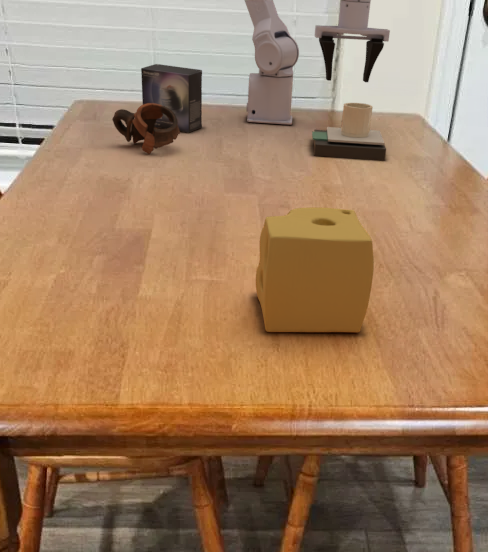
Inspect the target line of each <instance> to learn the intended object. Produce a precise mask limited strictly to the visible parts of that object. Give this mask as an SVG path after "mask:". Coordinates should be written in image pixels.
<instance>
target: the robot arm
mask: <svg viewBox="0 0 488 552" xmlns="http://www.w3.org/2000/svg"><path fill="white" fill-rule="evenodd" d="M371 1H372V0H340V3H339V4H340V5H339V15H338V25H319V24H318V25H317V24H315V27H314V37H315V38H316V39H318V42H319V46H320V48H321V52H322V56H323V57H322V58H323V63H324V68H325V80H326V81H328V82H329V81H330V82H331V81H332V77H333V59H334V55H335V47H336V43H335V39H342V40H343V39H344V40H360V41H366V43H365V44H366V45H365V61H364V68H363V73H362V82H364V83H369V82H370V78H371V73H372V71H373V69H374V66H375V63H376V62H377V59H378V58H379V56H380V54H381V52H382V51H383V49H384V47H385V43H384V42H387V43H388V42H389V39H390V33H391V30H390V29H388V28H376V27H368V26H369V18H370V10H371V9H370V8H371ZM244 3H245V6H246V8H247V12H248V14H249V17H250V20H251V22H252V26H253V33H252V38H251V40H252V43H253V46H254V47H253V48H254V61H255V64H256V66H257V68H258V72H257V73H256V72H250V73H249V75H248V89H247V90H248V91H247V93H248V94H247V95H248V96H247V102H246V113H247V116H246V117H247V118H246V122H248V123H257V124H258V123H260V124H273V125H274V124H275V125H290V126H291V125H292V124H293V115H292V101H293V100H292V99H293V86H294V85H293V83H294V69H293V67H295V65H297V63H298V60H299V57H300V49H299V48H300V47H299V45H298V43H297V41H296V40H295V39H294V38H293V37H292V35H291V34H290V32H289V30H288V26H287V25H286V24H285V23H284V22H283V20H282V19H281V18H280V16H279V14H278V11H277V8H276V5H275V2H274V0H244ZM345 34H346V35H345Z"/></svg>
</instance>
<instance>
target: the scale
mask: <svg viewBox="0 0 488 552" xmlns="http://www.w3.org/2000/svg"><path fill="white" fill-rule="evenodd" d="M311 137H312V138H311V139H312V141H313V156H314V157H324V158H325V157H327V158H341V159H353V160H354V159H356V160H372V161H386V153H387V147H386V145H385V140H384V138H383V135H382V132H381V130H378V129H377V130H376V129H370V132H369V136H368V137H364V138H355V137H348V136H344V135H342V134H341V127H335V126H326V129H314V130H313V131H311Z"/></svg>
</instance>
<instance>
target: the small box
mask: <svg viewBox="0 0 488 552" xmlns="http://www.w3.org/2000/svg"><path fill="white" fill-rule="evenodd" d="M140 71H141V73H140V74H141V75H140V76H141V97H142V99H141V100H142V105H143V104H147V103H156V104H160V105H162V106H165V107H167V108H169V109H170V110H172V111H173V112H174V114H175V115H176V117H177V120H178V128H179V131H180V133H181V132H182V133H186V134H187V133H188V134H189V133H192V132H194V131H197V130H199V129H201V128H203V123H202V119H203V117H202V113H203V109H202V105H203V104H202V103H203V100H202V99H203V90H202V87H203V86H202V85H203V82H202V81H203V70H202V69H198V68H190V67H182V66H175V65H167V64H160V63H155V64H151V65H148V66H144V67H141V68H140ZM172 125H173V122H171V121H169V118H168V117H167V116H166V115H165V114H163V116H162V117H161V118H159V119H157V120H156V123H155V128H157V129H167V128H170V127H171V126H172Z"/></svg>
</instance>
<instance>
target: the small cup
mask: <svg viewBox="0 0 488 552" xmlns="http://www.w3.org/2000/svg"><path fill="white" fill-rule="evenodd" d="M342 107H343V108H342V114H341V115H342V117H341V127H340V128H341V134H342V135H344V136H348V137H355V138H364V137H368V136H369V132H370V130H371V122H372V115H373V107H374V106H373V105H371V104H368V103H362V102H345V103H343V105H342Z"/></svg>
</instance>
